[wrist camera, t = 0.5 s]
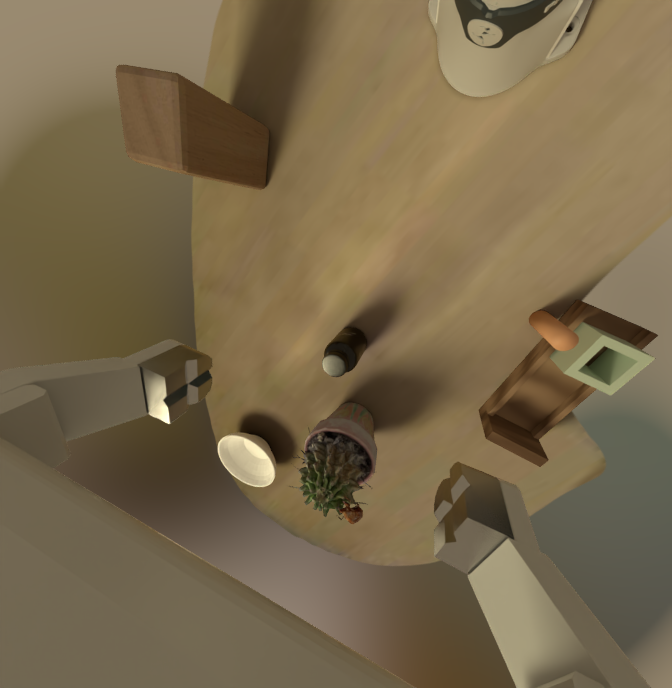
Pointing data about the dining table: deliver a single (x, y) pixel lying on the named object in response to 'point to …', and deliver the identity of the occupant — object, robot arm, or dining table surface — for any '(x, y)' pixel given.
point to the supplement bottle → (344, 352)
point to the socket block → (601, 359)
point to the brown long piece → (547, 387)
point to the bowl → (248, 458)
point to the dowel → (554, 331)
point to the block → (189, 129)
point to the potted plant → (339, 460)
